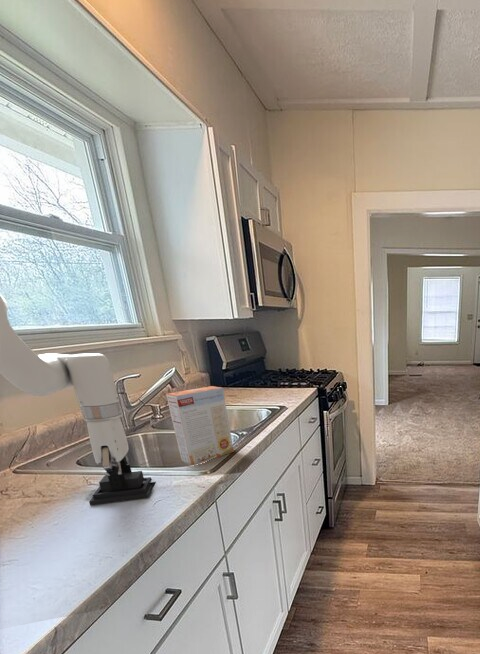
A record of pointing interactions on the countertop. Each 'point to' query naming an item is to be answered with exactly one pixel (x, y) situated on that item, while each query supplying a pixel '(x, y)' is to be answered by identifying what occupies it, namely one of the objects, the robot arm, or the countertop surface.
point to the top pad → (131, 478)
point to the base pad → (123, 494)
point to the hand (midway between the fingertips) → (123, 484)
